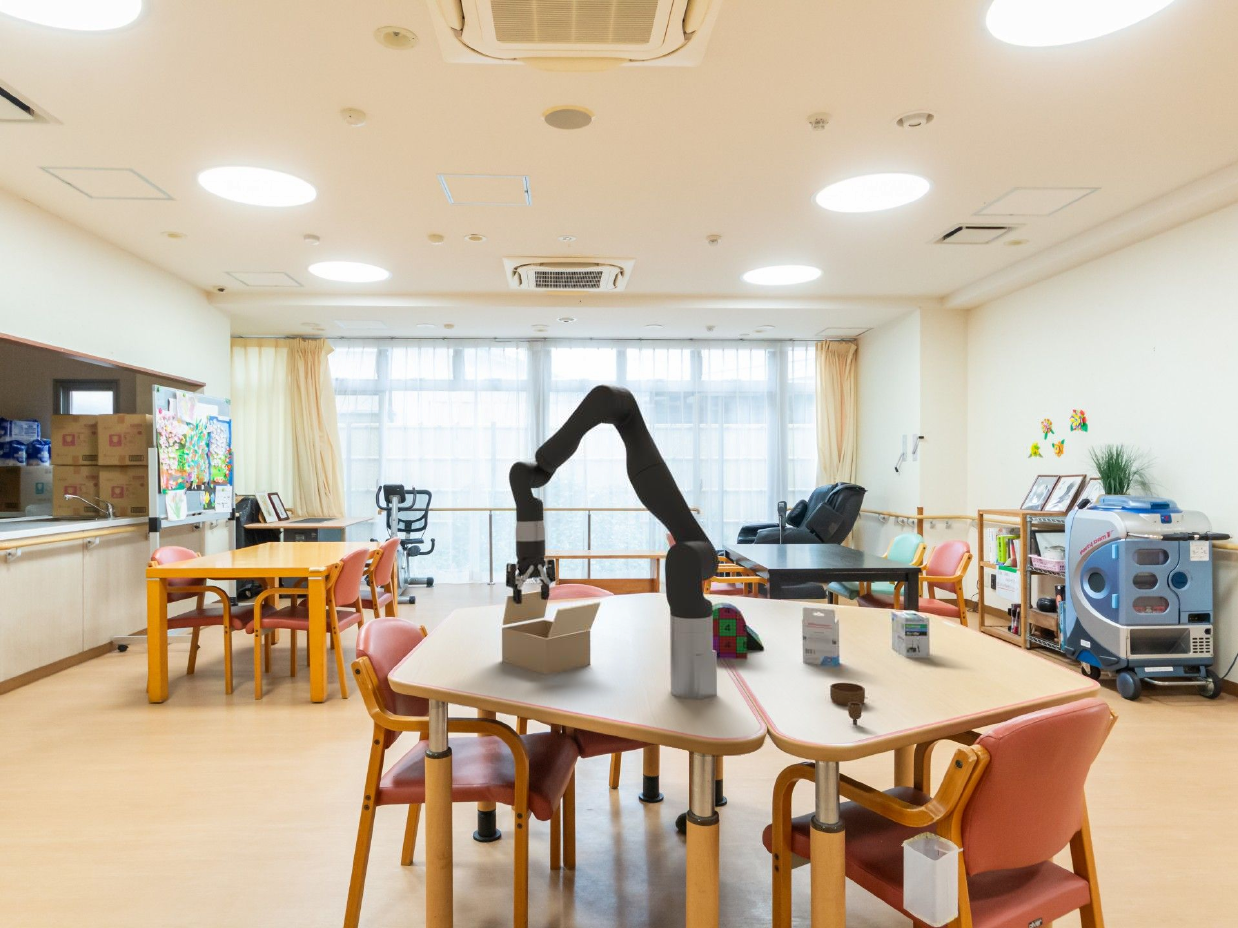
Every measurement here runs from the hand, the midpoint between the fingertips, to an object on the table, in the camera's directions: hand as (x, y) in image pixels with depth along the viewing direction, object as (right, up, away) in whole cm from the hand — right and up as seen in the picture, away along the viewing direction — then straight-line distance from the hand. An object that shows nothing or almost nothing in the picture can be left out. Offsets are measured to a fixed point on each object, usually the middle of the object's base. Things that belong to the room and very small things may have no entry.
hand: (531, 601), depth 189 cm
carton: (+4, -16, -4) cm, 17 cm away
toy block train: (+54, -16, +15) cm, 58 cm away
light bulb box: (+101, -16, +9) cm, 103 cm away
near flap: (+12, -2, -12) cm, 17 cm away
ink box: (+74, -16, -2) cm, 76 cm away
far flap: (-1, -2, +2) cm, 3 cm away
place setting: (+68, -16, -38) cm, 80 cm away
